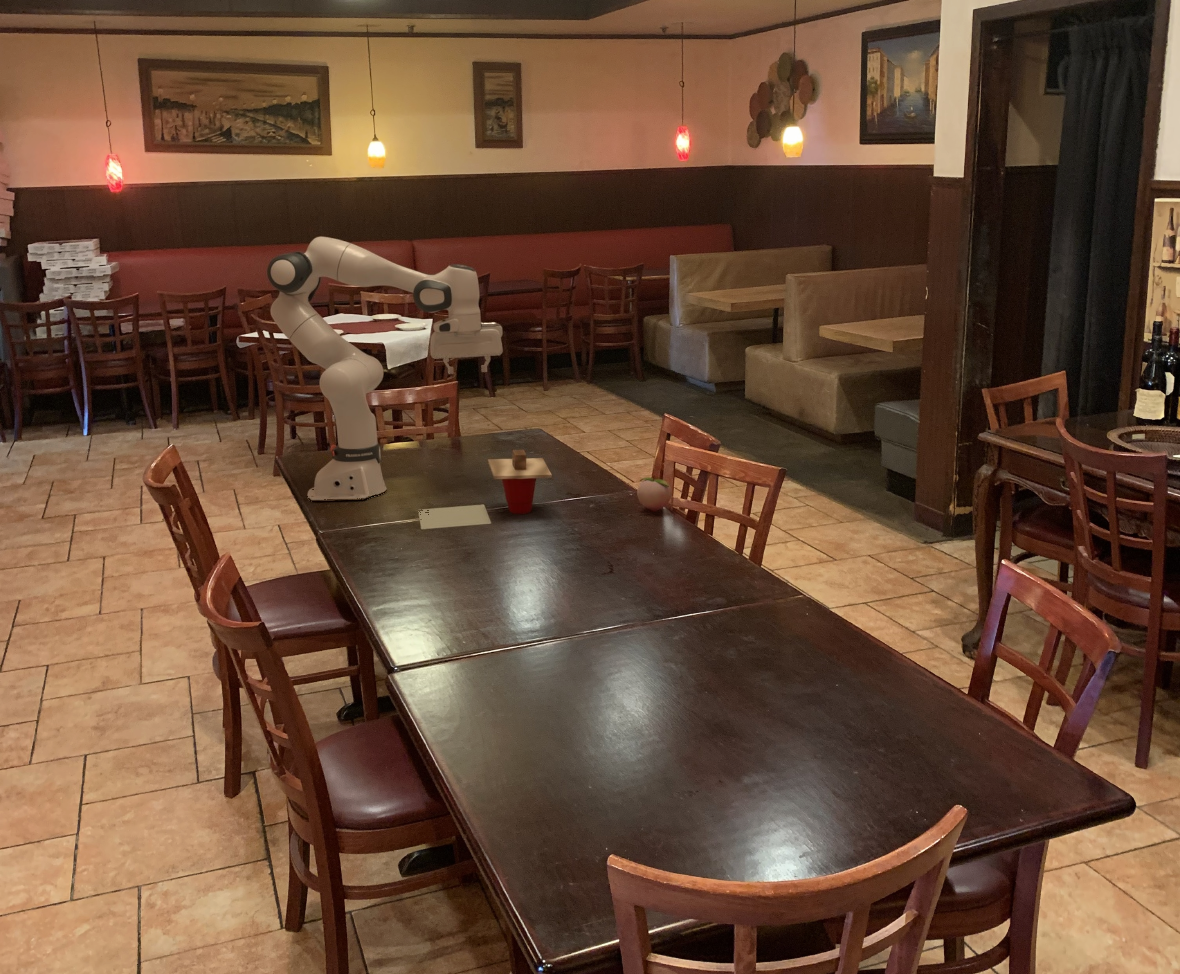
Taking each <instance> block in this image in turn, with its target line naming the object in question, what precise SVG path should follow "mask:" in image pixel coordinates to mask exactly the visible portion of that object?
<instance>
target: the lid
mask: <svg viewBox="0 0 1180 974" xmlns="http://www.w3.org/2000/svg"><path fill="white" fill-rule="evenodd" d="M511 453H512V458H497V459H496V458H495V459H493V458H492V459H491V458H490V459H489V458H487V463H488V467H489V469H490V471H491V474H492V477H493V479H494V480H502V479H520V478H537V479H546V478H547V479H552V478H553V477H552V476H553V475H552V473H551V471H550V469H549V468H548V465H547V463H546V462H545V460H544V457H537V458H536V457H534V458H533V457H532V458H527V452H525V450H524V449H512V452H511Z"/></svg>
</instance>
